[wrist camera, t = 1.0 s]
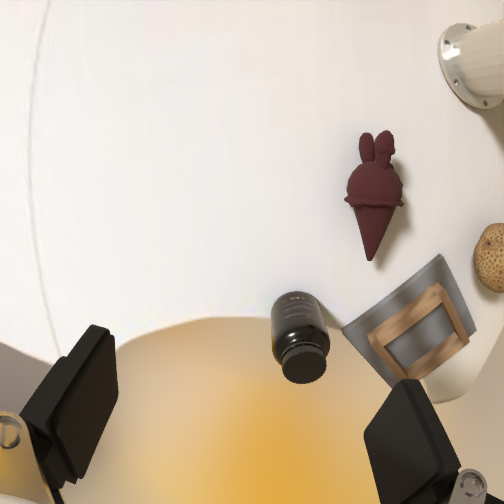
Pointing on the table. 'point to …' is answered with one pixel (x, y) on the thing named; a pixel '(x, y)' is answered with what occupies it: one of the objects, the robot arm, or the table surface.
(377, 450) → the robot arm
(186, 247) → the table surface
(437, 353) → the collar board
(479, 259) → the natural sponge
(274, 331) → the supplement bottle
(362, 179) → the icecream
